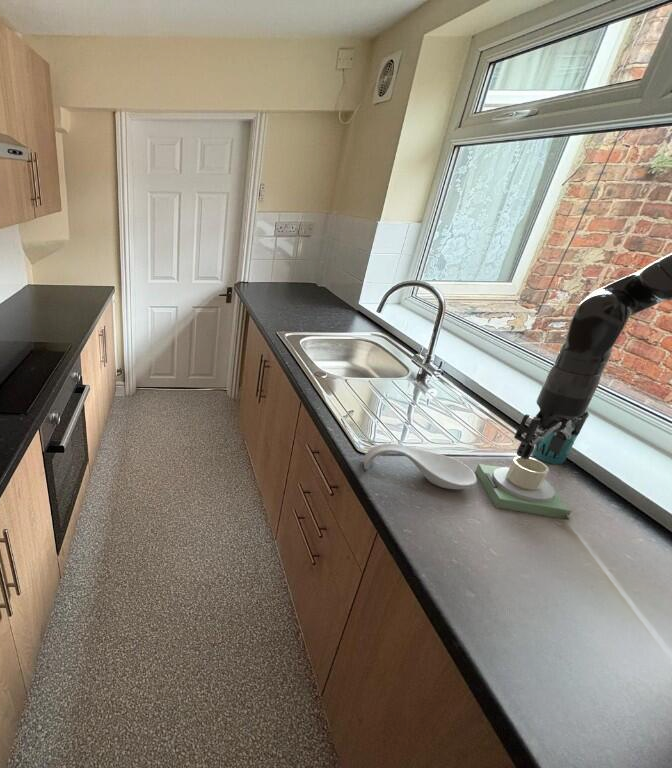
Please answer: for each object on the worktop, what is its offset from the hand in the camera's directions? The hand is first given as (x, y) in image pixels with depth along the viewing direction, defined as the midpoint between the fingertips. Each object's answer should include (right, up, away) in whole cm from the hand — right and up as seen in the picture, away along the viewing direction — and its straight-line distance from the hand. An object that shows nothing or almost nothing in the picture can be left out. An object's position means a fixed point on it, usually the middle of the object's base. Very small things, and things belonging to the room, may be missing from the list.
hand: (538, 454), depth 91 cm
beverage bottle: (+16, -5, +16) cm, 23 cm away
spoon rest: (-20, -7, +11) cm, 24 cm away
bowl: (0, -7, +3) cm, 8 cm away
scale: (0, -10, +5) cm, 11 cm away
